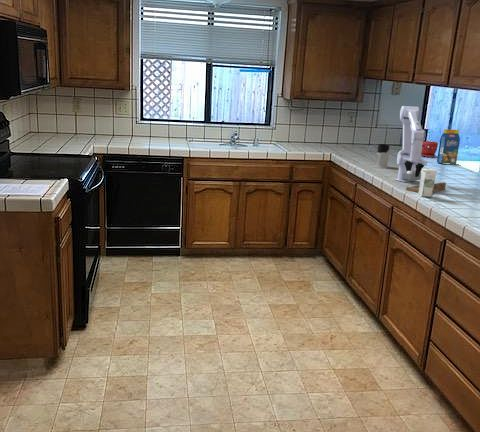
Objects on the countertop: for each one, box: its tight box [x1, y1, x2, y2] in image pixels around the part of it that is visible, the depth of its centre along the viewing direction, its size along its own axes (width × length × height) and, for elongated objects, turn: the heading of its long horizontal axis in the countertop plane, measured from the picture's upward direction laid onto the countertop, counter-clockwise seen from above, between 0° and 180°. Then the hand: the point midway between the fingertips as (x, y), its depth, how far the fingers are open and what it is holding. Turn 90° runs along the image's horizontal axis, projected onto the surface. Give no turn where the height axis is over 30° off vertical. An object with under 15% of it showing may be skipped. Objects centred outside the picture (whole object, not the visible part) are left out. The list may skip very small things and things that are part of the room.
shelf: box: [405, 181, 447, 194], centre depth 287 cm, size 22×10×4 cm, turn 127°
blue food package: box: [436, 128, 461, 165], centre depth 376 cm, size 6×12×25 cm, turn 101°
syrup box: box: [417, 167, 437, 198], centre depth 270 cm, size 6×6×14 cm
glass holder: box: [367, 143, 390, 169], centre depth 352 cm, size 9×14×15 cm, turn 78°
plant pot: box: [421, 140, 439, 158], centre depth 408 cm, size 13×13×12 cm
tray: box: [402, 169, 421, 182], centre depth 293 cm, size 12×5×5 cm, turn 127°
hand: (412, 175), depth 293 cm, fingers closed on tray, 5 cm apart
